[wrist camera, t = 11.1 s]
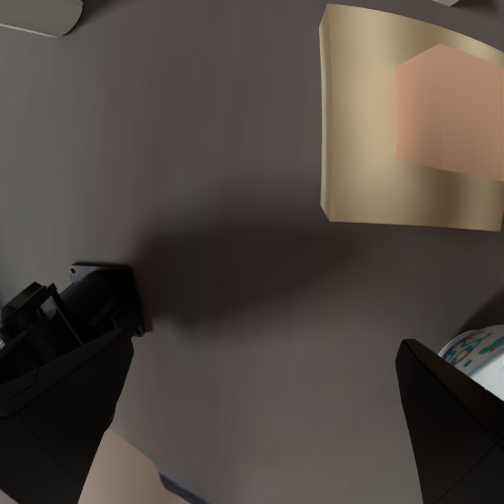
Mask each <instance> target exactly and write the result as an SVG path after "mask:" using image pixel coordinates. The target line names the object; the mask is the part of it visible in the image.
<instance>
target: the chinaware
mask: <svg viewBox="0 0 504 504" xmlns="http://www.w3.org/2000/svg"><path fill="white" fill-rule="evenodd" d="M438 355H439V356H440V357H442V358H443V359H444V360H446V361H447V362H449V363H450V364H452V365H453V366H455V367H456V368H457V369H459V370H460V371H462V372H463V373H465V374H466V375H467V376H469V377H470V378H472V379H473V380H474V381H476V382H477V383H479V384H480V385H482V386H483V387H484V388H485V389H486V390H489V391H490V392H491V393H493V394H494V395H496V396H497V397H499V398H500V399H502V400H503V401H504V325H495V326H490V327H486V328H483V329H480V330H470V331H466V332H464V333H462V334H460V335H458V336H456V337H455V338H454V339H452V340H451V341H450V342H449V343H448V344H446V345H445V347H444V348H443V349H442V350H441V351H440V353H439V354H438Z"/></svg>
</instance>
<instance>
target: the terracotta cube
mask: <svg viewBox="0 0 504 504" xmlns="http://www.w3.org/2000/svg"><path fill="white" fill-rule="evenodd" d="M396 88H397V143H396V158H397V159H402V160H406V161H410V162H414V163H418V164H422V165H426V166H430V167H434V168H437V169H441V170H447V171H453V172H459V173H464V174H470V175H475V176H480V177H485V178H490V179H494V180H499V181H503V182H504V69H503V68H501V67H499V66H497V65H495V64H492V63H490V62H488V61H486V60H483V59H481V58H478V57H476V56H473V55H471V54H468V53H465V52H463V51H460V50H457V49H454V48H451V47H448V46H445V45H442V44H438V45H436V46H434V47H432V48H430V49H428V50H426V51H424V52H422V53H420V54H418V55H417V56H415V57H413V58H411V59H409V60H407V61H406V62H404V63H402V64H400V65H398V66H397V67H396Z"/></svg>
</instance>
